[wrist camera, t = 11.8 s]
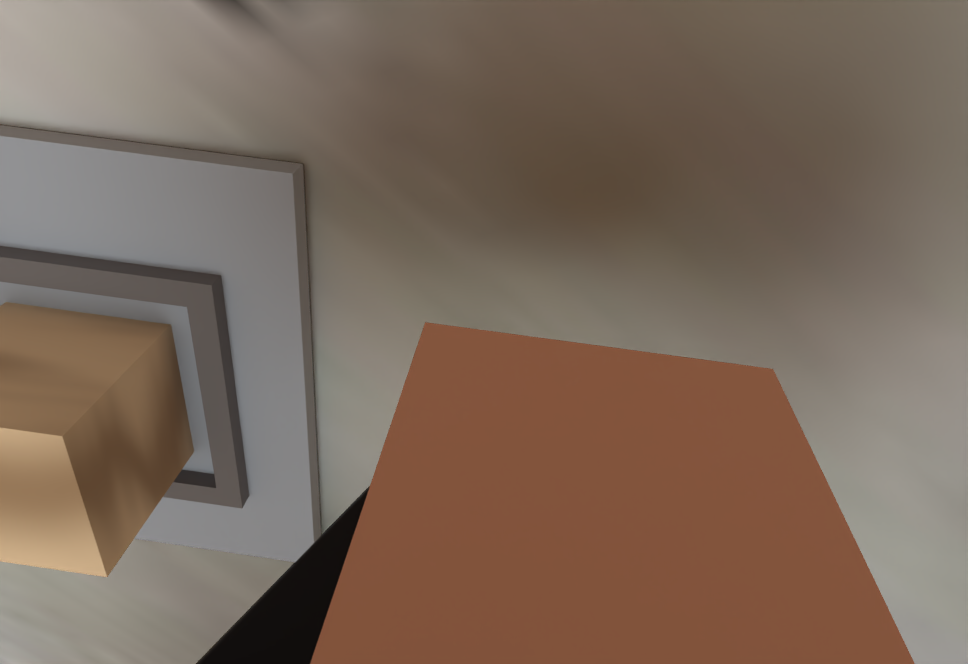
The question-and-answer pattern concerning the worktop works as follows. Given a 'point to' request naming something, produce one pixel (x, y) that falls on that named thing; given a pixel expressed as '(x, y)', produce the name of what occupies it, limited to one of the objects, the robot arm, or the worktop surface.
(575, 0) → the worktop surface
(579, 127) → the worktop surface
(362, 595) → the terracotta block
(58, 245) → the grey flat square plate
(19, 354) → the oak cube
